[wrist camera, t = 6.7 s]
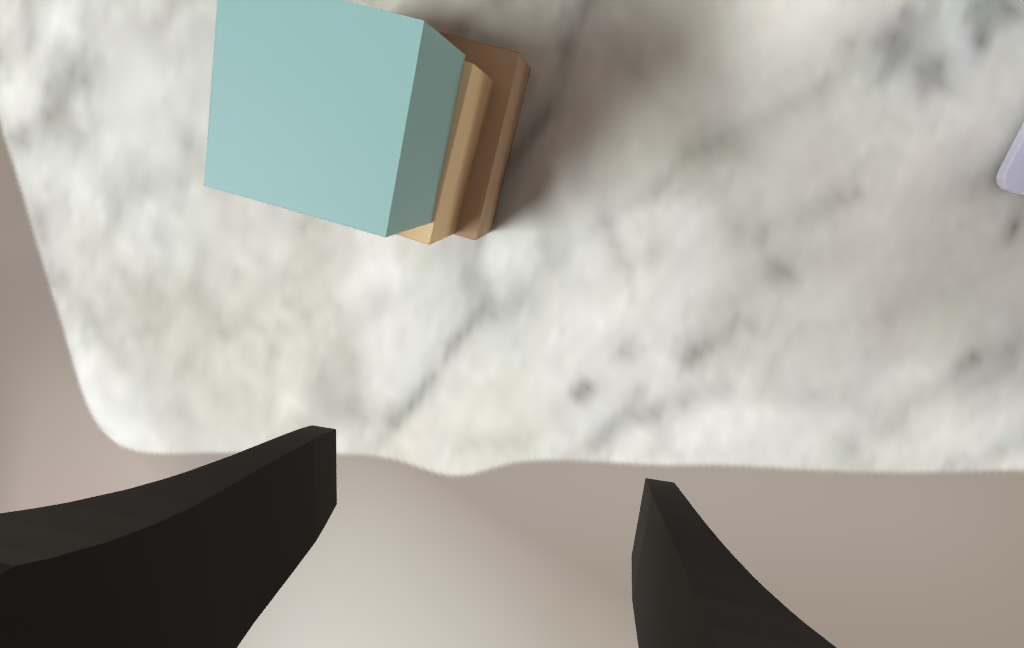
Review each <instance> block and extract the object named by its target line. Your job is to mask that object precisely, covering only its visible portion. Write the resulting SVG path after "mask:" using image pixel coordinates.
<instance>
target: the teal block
mask: <svg viewBox="0 0 1024 648" xmlns="http://www.w3.org/2000/svg"><path fill="white" fill-rule="evenodd" d="M464 60H465V54H464V53H462V52H461V51H460V50H459V49H458V48H456V47H455V46H454V45H453V44H452V43H450V42H449V41H448V40H447V39H446V38H445V37H443V36H442V35H441V34H440V33H439V32H437V31H436V30H435V29H434V28H433V27H431V26H430V25H429V24H428V23H427V22H425V21H424V20H420V19H416V18H412V17H408V16H404V15H400V14H396V13H392V12H388V11H384V10H380V9H376V8H372V7H368V6H364V5H360V4H356V3H352V2H348V1H344V0H217V13H216V27H215V41H214V55H213V69H212V83H211V97H210V111H209V124H208V138H207V152H206V166H205V180H204V186H207V187H210V188H214V189H217V190H221V191H224V192H228V193H231V194H235V195H238V196H242V197H246V198H249V199H253V200H256V201H260V202H263V203H267V204H270V205H274V206H277V207H281V208H284V209H288V210H291V211H295V212H298V213H302V214H305V215H309V216H312V217H316V218H320V219H323V220H327V221H330V222H334V223H337V224H341V225H344V226H348V227H351V228H355V229H358V230H362V231H365V232H369V233H372V234H376V235H379V236H383V237H388V236H391V235H394V234H397V233H401V232H404V231H407V230H410V229H413V228H416V227H420V226H423V225H426V224H429V223H432V218H433V213H434V208H435V203H436V198H437V193H438V188H439V183H440V178H441V173H442V168H443V164H444V159H445V154H446V149H447V144H448V139H449V134H450V129H451V124H452V119H453V114H454V109H455V105H456V100H457V95H458V90H459V85H460V80H461V75H462V70H463V65H464Z"/></svg>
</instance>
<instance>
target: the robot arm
mask: <svg viewBox="0 0 1024 648" xmlns="http://www.w3.org/2000/svg"><path fill="white" fill-rule="evenodd" d="M996 180H997V184H998V186H999V187H1000V188H1001V189H1003V190H1005V191H1008V192H1012V193H1016V194H1020V195H1023V196H1024V122H1023V124H1022V126H1021V128H1020V130H1019V132H1018V134H1017V136H1016V138H1015V140H1014V142H1013V144H1012V146H1011V147H1010V149H1009V151H1008V153H1007V155H1006V157H1005V159H1004V161H1003V163H1002V165H1001V167H1000V169H999V171H998V173H997V177H996ZM336 497H337V493H336V429H331V428H325V427H318V426H308V427H305V428H301V429H298V430H296V431H293V432H290V433H287V434H285V435H282V436H280V437H277V438H275V439H272V440H270V441H267V442H265V443H262V444H260V445H257V446H254V447H252V448H249V449H247V450H244V451H242V452H239V453H237V454H234V455H232V456H229V457H226V458H224V459H221V460H218V461H215V462H213V463H210V464H207V465H204V466H202V467H199V468H196V469H193V470H191V471H188V472H185V473H182V474H179V475H176V476H172V477H170V478H166V479H163V480H160V481H156V482H152V483H149V484H145V485H142V486H138V487H135V488H131V489H127V490H123V491H118V492H114V493H110V494H105V495H100V496H96V497H91V498H87V499H83V500H78V501H74V502H69V503H63V504H58V505H52V506H46V507H40V508H35V509H28V510H21V511H14V512H7V513H0V648H237V646H238V645H239V643H240V642H241V640H242V639H243V638H244V636H245V635H246V633H247V632H248V630H249V629H250V628H251V626H252V625H253V623H254V622H255V621H256V619H257V618H258V616H260V614H261V613H262V612H263V610H264V609H265V608H266V606H267V605H268V604H269V602H270V601H271V600H272V599H273V597H274V596H275V595H276V593H277V592H278V591H279V589H280V588H281V587H282V585H283V584H284V583H285V582H286V580H287V579H288V578H289V576H290V575H291V574H292V572H293V571H294V570H295V568H296V567H297V566H298V564H299V563H300V562H301V560H302V559H303V558H304V556H305V555H306V554H307V552H308V551H309V550H310V548H311V547H312V546H313V544H314V543H315V542H316V540H317V538H318V536H319V535H320V533H321V532H322V530H323V528H324V526H325V525H326V523H327V521H328V519H329V517H330V515H331V514H332V512H333V510H334V508H335V506H336V504H337V498H336ZM632 601H633V609H634V615H635V624H636V631H637V639H638V645H639V648H836V647H835V646H834V645H832V644H831V643H830V642H828V641H827V640H826V639H825V638H823V637H822V636H821V635H819V634H818V633H817V632H815V631H814V630H813V629H812V628H810V627H809V626H808V625H806V624H805V623H804V622H803V621H802V620H800V619H799V618H798V617H797V616H796V615H794V614H793V613H792V612H791V611H790V610H789V609H788V608H786V607H785V606H784V605H783V604H782V603H781V602H780V601H779V600H778V599H776V598H775V597H774V596H773V595H772V594H771V593H770V592H769V591H768V590H766V589H765V588H764V587H763V586H762V585H761V584H760V583H759V582H758V581H757V580H756V579H755V578H754V577H753V576H752V575H751V574H750V573H749V572H748V571H747V570H746V569H745V568H744V566H743V565H742V564H741V563H740V562H739V561H738V560H737V559H736V558H735V557H734V556H733V555H732V554H731V553H730V551H729V550H728V549H727V548H726V547H725V546H724V545H723V544H722V543H721V541H720V540H719V539H718V538H717V537H716V535H715V534H714V533H713V532H712V531H711V530H710V528H709V527H708V526H707V525H706V523H705V522H704V521H703V520H702V518H701V517H700V516H699V514H698V513H697V512H696V511H695V509H694V508H693V507H692V505H691V504H690V503H689V501H688V500H687V499H686V498H685V496H684V495H683V494H682V492H681V491H680V490H679V488H678V487H677V486H676V485H675V483H672V482H666V481H660V480H653V479H647V478H646V479H645V485H644V491H643V495H642V501H641V507H640V513H639V518H638V524H637V530H636V535H635V541H634V546H633V552H632Z"/></svg>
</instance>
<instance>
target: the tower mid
mask: <svg viewBox="0 0 1024 648" xmlns="http://www.w3.org/2000/svg"><path fill="white" fill-rule="evenodd" d="M493 84H494V80H492V79H491V78H490V77H489V76H488V75H486V74H485V73H484V72H483V71H482V70H480V69H479V68H478V67H477V66H476V65H474V64H473V63H470V62H467V61H464V65H463V70H462V75H461V80H460V85H459V90H458V95H457V100H456V105H455V109H454V114H453V119H452V124H451V129H450V134H449V139H448V144H447V149H446V154H445V159H444V164H443V168H442V173H441V178H440V183H439V188H438V193H437V198H436V203H435V208H434V213H433V218H432V223H429V224H426V225H423V226H420V227H416V228H413V229H410V230H407V231H404V232H401V233H397V235H400V236H403V237H406V238H409V239H412V240H415V241H418V242H422V243H425V244H428V245H429V244H432V243H434V242H436V241H439V240H441V239H443V238H445V237H448V236H450V235H452V234H454V233H455V231H456V227H457V224H458V220H459V216H460V212H461V208H462V204H463V200H464V197H465V193H466V189H467V185H468V181H469V177H470V173H471V169H472V166H473V162H474V158H475V154H476V150H477V146H478V142H479V138H480V135H481V131H482V127H483V123H484V119H485V115H486V111H487V107H488V104H489V100H490V96H491V92H492V88H493Z"/></svg>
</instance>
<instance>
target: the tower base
mask: <svg viewBox="0 0 1024 648" xmlns="http://www.w3.org/2000/svg"><path fill="white" fill-rule="evenodd" d="M439 33H440V32H439ZM440 34H441V35H442V36H443V37H445V38H446V39H447V40H448V41H449V42H450V43H452V44H453V45H454V46H455V47H456V48H458V49H459V50H460V51H461V52H462V53H464V54H465V60H464V61H467V62H470V63H473V64H474V65H476V66H477V67H478V68H479V69H480V70H482V71H483V72H484V73H485V74H486V75H488V76H489V77H490V78H491V79H492V80H494V84H493V88H492V92H491V96H490V100H489V104H488V107H487V111H486V115H485V119H484V123H483V127H482V131H481V135H480V138H479V142H478V146H477V150H476V154H475V158H474V162H473V166H472V169H471V173H470V177H469V181H468V185H467V189H466V193H465V197H464V200H463V204H462V208H461V212H460V216H459V220H458V224H457V227H456V231H455V233H454V234H455V235H458V236H462V237H465V238H469V239H472V240H477V239H478V238H480V237H482V236H484V235H485V234H487V233H489V232H491V228H492V224H493V220H494V216H495V212H496V208H497V204H498V200H499V196H500V192H501V188H502V184H503V179H504V175H505V171H506V167H507V163H508V159H509V155H510V151H511V147H512V143H513V139H514V135H515V131H516V126H517V122H518V118H519V114H520V110H521V106H522V102H523V98H524V94H525V90H526V86H527V82H528V77H529V73H530V69H531V68H530V67H529V65H528V64H527V63H526V61H525V60H524V58H523V57H522V56H521V54H520V53H518V52H514V51H510V50H506V49H502V48H498V47H495V46H491V45H487V44H483V43H479V42H475V41H471V40H467V39H464V38H460V37H456V36H452V35H448V34H444V33H440Z"/></svg>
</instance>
